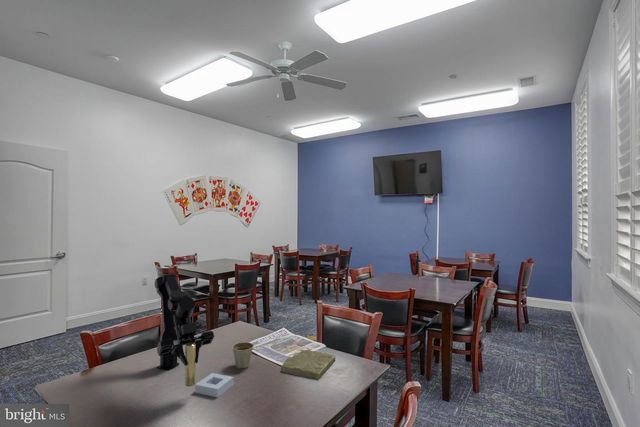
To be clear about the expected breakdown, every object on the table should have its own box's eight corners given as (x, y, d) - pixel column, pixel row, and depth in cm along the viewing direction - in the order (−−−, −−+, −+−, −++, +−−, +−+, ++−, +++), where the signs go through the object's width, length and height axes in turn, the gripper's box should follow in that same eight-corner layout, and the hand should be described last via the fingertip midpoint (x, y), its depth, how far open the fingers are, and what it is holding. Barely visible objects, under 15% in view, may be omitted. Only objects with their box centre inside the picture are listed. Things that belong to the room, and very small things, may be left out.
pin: (183, 385, 121) (183, 345, 121) (189, 381, 124) (190, 342, 124) (190, 387, 120) (191, 347, 120) (197, 382, 123) (197, 343, 123)
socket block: (195, 392, 127) (195, 384, 127) (212, 380, 137) (212, 372, 137) (217, 397, 124) (217, 389, 124) (233, 384, 133) (233, 377, 133)
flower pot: (248, 371, 145) (248, 351, 145) (228, 369, 147) (228, 349, 147) (257, 362, 154) (257, 343, 154) (237, 360, 156) (237, 341, 156)
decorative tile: (335, 361, 156) (335, 353, 156) (319, 380, 138) (319, 372, 138) (299, 355, 164) (299, 347, 164) (278, 372, 145) (278, 364, 145)
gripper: (160, 317, 120) (167, 360, 111) (212, 309, 131) (223, 347, 122) (155, 333, 126) (161, 375, 117) (206, 324, 137) (215, 361, 128)
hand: (191, 364), depth 121 cm, fingers closed on pin, 3 cm apart
